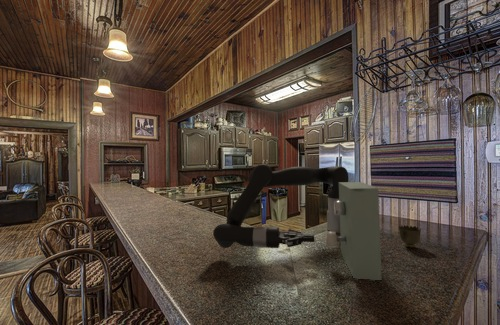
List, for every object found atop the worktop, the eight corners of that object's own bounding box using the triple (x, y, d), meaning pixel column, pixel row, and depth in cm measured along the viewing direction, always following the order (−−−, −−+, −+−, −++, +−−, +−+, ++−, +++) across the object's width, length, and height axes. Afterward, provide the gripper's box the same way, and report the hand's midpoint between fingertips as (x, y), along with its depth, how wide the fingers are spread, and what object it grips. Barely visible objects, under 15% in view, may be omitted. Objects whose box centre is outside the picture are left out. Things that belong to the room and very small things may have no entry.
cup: (425, 250, 91) (424, 230, 91) (404, 250, 92) (403, 229, 92) (415, 243, 98) (415, 225, 98) (396, 243, 99) (395, 224, 99)
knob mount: (353, 279, 72) (349, 188, 71) (341, 253, 91) (338, 182, 91) (381, 280, 70) (378, 188, 70) (363, 254, 90) (360, 182, 89)
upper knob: (336, 216, 79) (335, 202, 79) (334, 213, 84) (333, 199, 84) (358, 216, 78) (357, 202, 78) (354, 213, 83) (354, 199, 83)
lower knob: (327, 248, 80) (327, 233, 80) (326, 243, 85) (325, 229, 85) (349, 249, 79) (349, 234, 79) (346, 243, 84) (345, 230, 84)
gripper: (263, 232, 80) (315, 233, 77) (268, 222, 93) (312, 223, 90) (264, 254, 80) (316, 256, 77) (268, 241, 93) (313, 242, 90)
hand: (314, 238), depth 83 cm, fingers closed
